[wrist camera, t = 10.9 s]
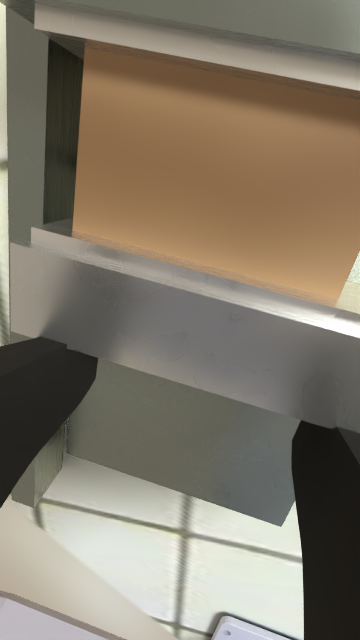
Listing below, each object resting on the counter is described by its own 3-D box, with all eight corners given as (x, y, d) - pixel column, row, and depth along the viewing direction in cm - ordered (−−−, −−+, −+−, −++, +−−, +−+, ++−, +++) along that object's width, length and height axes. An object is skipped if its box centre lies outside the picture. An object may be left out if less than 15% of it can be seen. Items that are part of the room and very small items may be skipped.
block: (315, 262, 12) (338, 300, 8) (126, 214, 13) (72, 230, 9) (364, 134, 10) (420, 111, 7) (143, 88, 11) (84, 46, 7)
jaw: (362, 368, 12) (407, 452, 8) (80, 288, 13) (10, 331, 9) (402, 290, 11) (474, 350, 7) (86, 210, 12) (9, 226, 8)
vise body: (267, 540, 17) (269, 667, 13) (41, 461, 19) (-28, 550, 14) (526, 28, 9) (819, -136, 4) (62, -48, 10) (-100, -227, 6)
